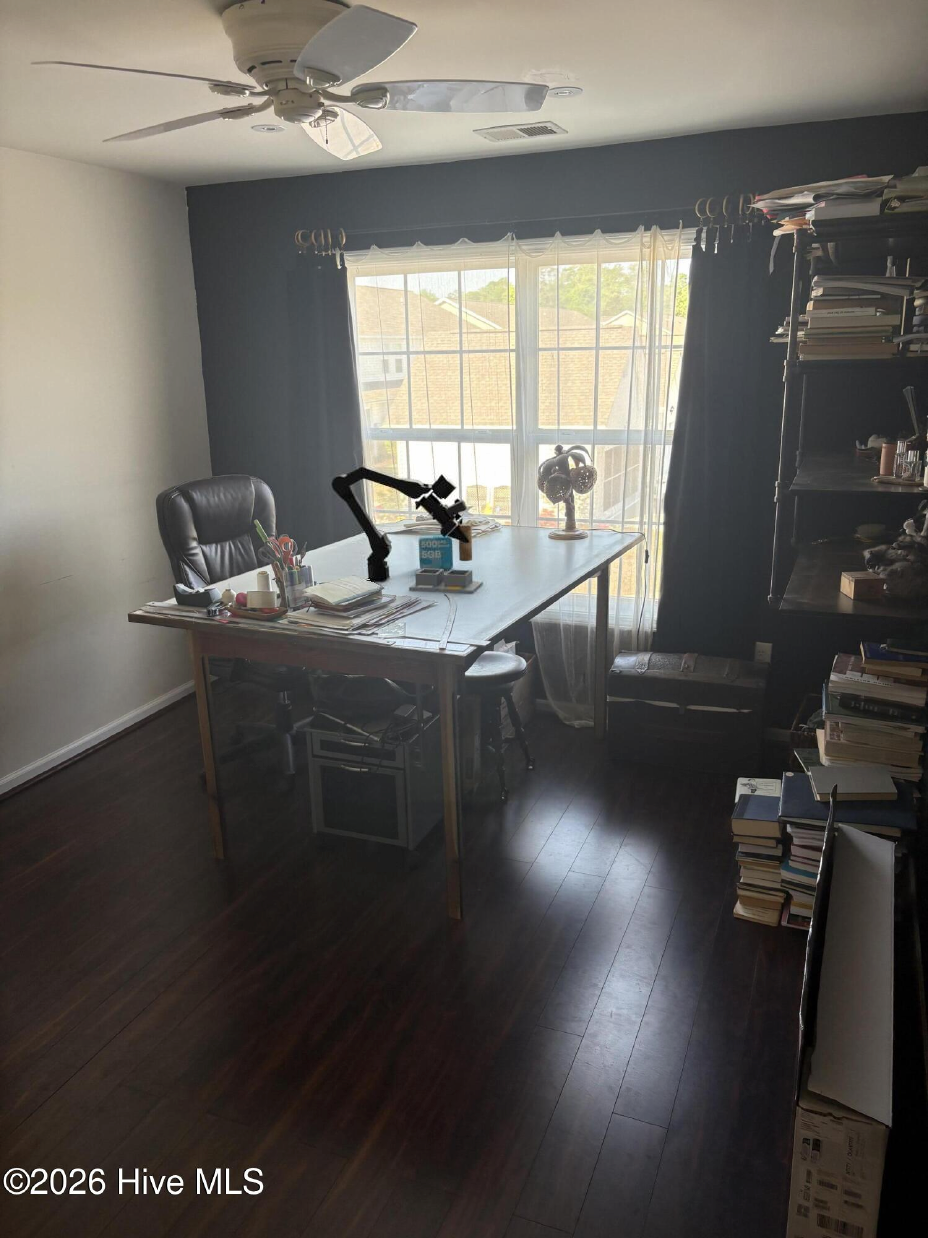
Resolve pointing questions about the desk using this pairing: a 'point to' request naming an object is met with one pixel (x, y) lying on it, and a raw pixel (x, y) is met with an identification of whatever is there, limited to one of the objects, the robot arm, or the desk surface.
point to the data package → (435, 552)
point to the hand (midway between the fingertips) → (469, 540)
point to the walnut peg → (466, 544)
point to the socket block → (445, 581)
